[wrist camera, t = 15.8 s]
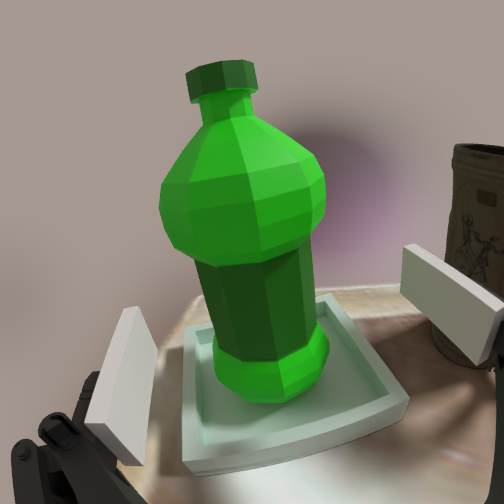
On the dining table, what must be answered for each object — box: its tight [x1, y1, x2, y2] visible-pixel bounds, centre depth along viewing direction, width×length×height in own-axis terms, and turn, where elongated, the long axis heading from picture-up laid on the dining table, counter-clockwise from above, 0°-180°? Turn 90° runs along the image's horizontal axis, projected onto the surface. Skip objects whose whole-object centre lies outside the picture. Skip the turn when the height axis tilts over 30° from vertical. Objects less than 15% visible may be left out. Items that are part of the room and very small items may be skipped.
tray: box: [182, 293, 410, 477], centre depth 25 cm, size 17×17×3 cm
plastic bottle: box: [159, 60, 330, 403], centre depth 20 cm, size 10×10×25 cm
